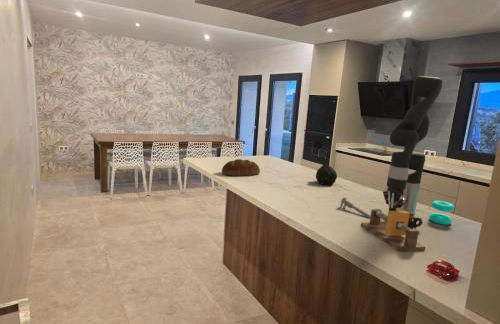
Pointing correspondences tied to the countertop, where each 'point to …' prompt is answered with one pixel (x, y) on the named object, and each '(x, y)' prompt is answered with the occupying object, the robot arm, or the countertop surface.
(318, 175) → the squash
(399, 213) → the collar
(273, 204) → the countertop surface
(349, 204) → the caliper
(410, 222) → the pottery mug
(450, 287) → the countertop surface
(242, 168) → the bread
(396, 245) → the pipe stand
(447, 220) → the donuts
